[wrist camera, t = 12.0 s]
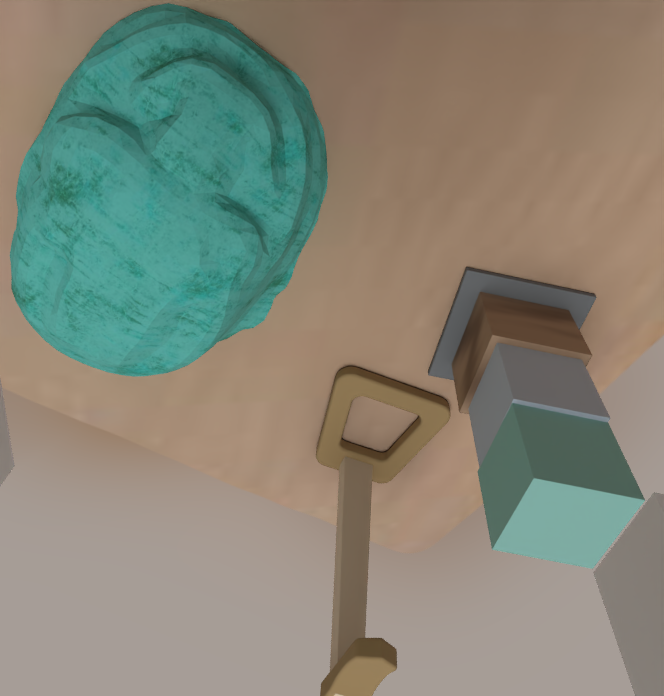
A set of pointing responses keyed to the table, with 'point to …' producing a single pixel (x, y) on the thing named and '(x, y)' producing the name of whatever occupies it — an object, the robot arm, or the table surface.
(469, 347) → the base block
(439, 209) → the table surface
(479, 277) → the coaster
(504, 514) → the teal block
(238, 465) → the table surface
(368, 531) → the headphone stand
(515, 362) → the gray block
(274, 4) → the table surface
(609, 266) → the table surface
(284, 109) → the decorative stone
